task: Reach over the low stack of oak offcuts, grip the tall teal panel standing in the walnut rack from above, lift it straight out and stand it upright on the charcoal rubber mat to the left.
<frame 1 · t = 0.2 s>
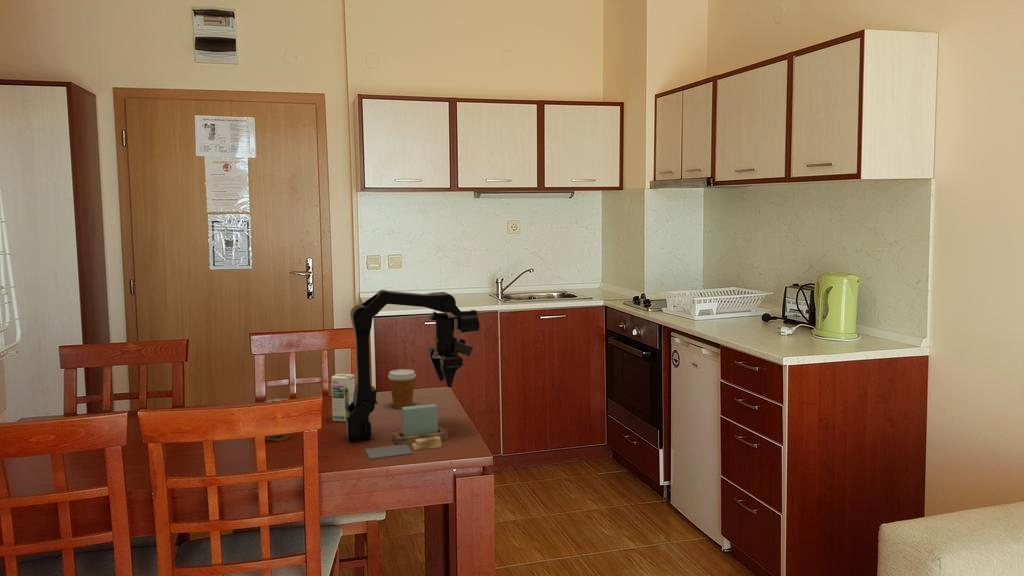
hand: (445, 383, 237), 14 cm above the table, tool pointing down, fingers open, 9 cm apart
canned tomato: (279, 438, 232), on the table
mat: (388, 452, 217), on the table
offcut stack: (426, 447, 221), on the table
rack: (420, 439, 228), on the table
syrup box: (344, 419, 250), on the table
panel: (419, 423, 227), in the rack
disposable coffee cup: (402, 406, 265), on the table
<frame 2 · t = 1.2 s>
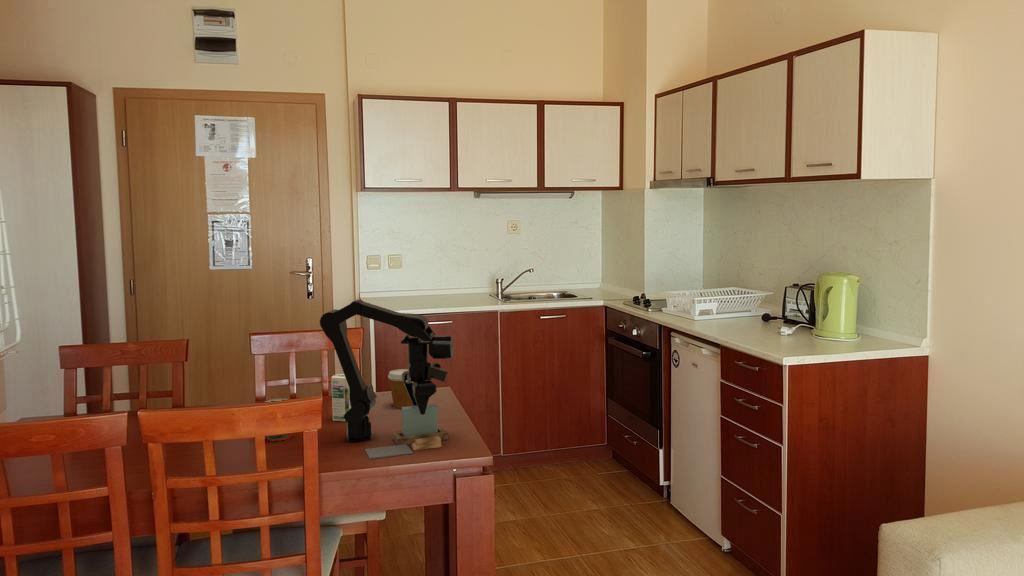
hand: (419, 410, 227), 9 cm above the table, tool pointing down, fingers open, 9 cm apart
nothing on the table moved.
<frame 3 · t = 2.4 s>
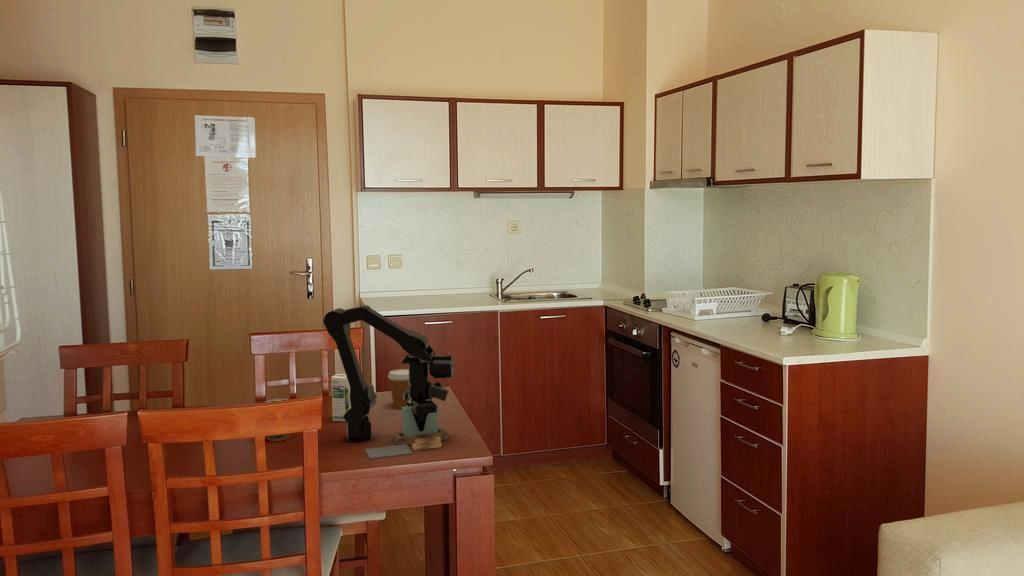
hand: (420, 429, 228), 3 cm above the table, tool pointing down, fingers closed on panel, 3 cm apart
panel: (419, 423, 227), in the rack, touching gripper
everything else where it was.
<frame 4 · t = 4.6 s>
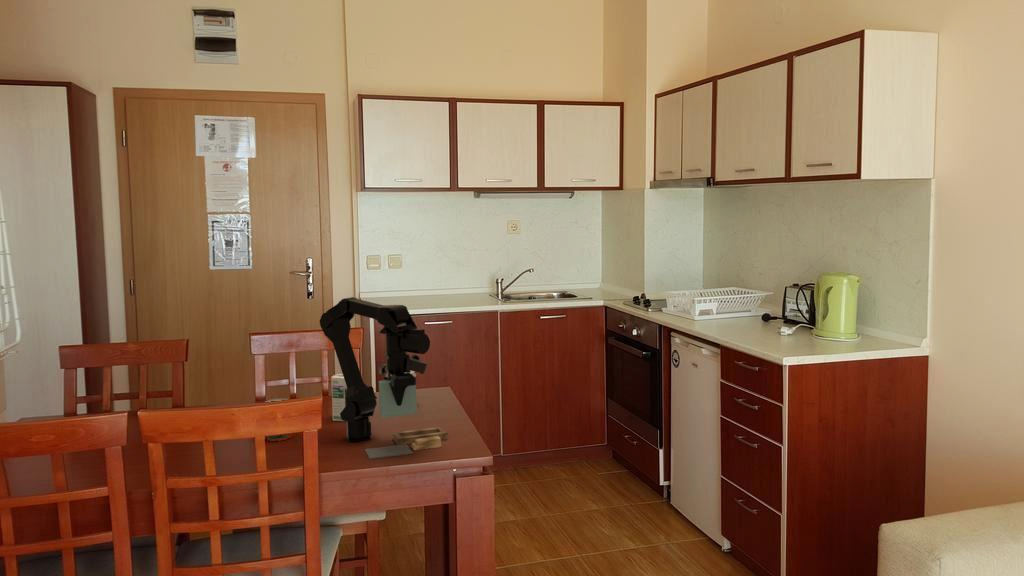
hand: (397, 404, 219), 13 cm above the table, tool pointing down, fingers closed on panel, 3 cm apart
panel: (397, 397, 219), point 15 cm above the table, touching gripper
everything else where it was.
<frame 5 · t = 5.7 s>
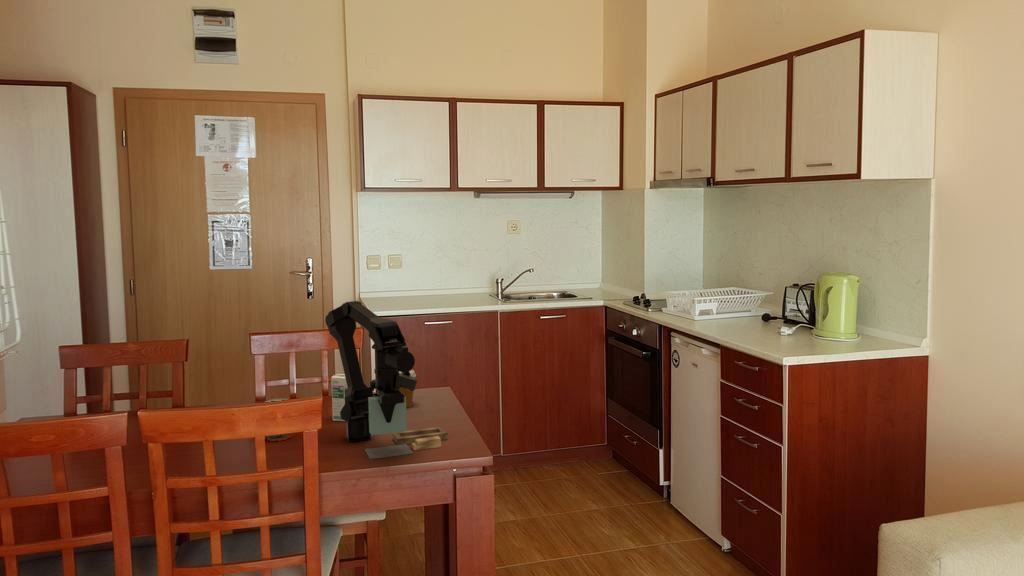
hand: (387, 420, 216), 9 cm above the table, tool pointing down, fingers closed on panel, 3 cm apart
panel: (387, 414, 216), point 11 cm above the table, touching gripper
everything else where it was.
when the fingers open (4 cm above the table, at t = 6.7 s): panel stays where it is, resting on mat.
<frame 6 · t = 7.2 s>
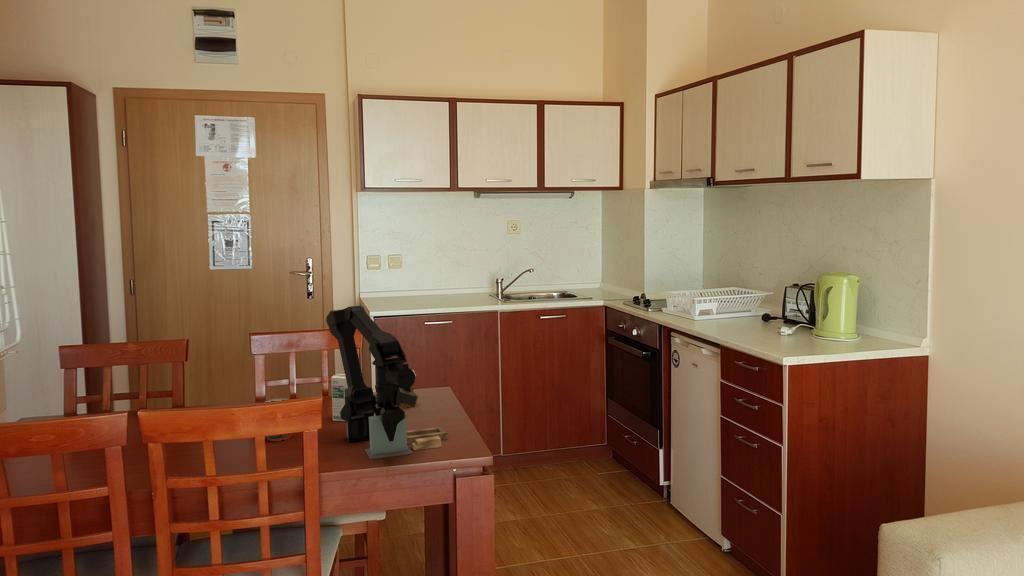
hand: (388, 436, 216), 4 cm above the table, tool pointing down, fingers open, 8 cm apart
panel: (388, 433, 216), on the mat
everything else where it was.
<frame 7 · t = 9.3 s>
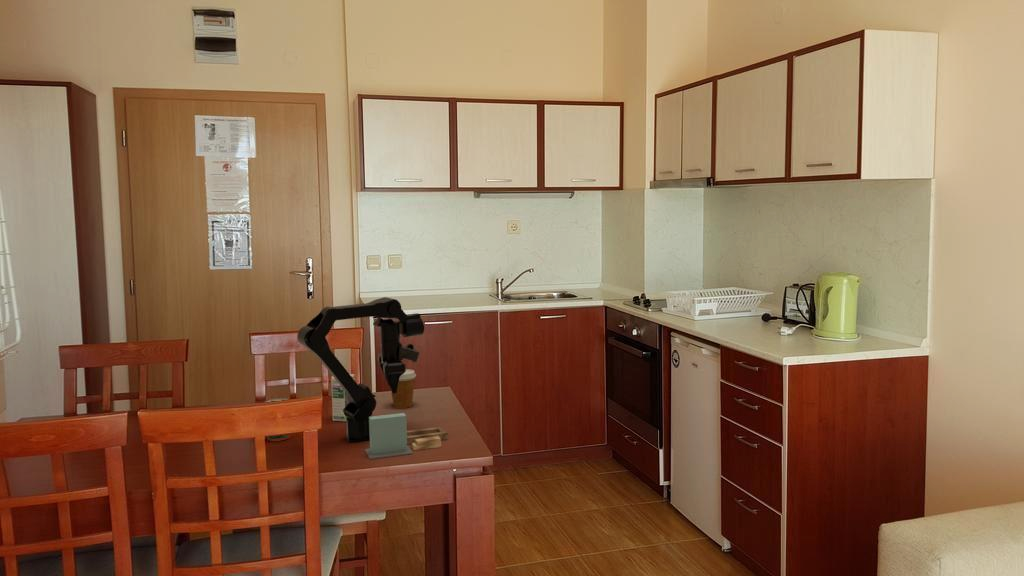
hand: (392, 389, 235), 13 cm above the table, tool pointing down, fingers open, 9 cm apart
nothing on the table moved.
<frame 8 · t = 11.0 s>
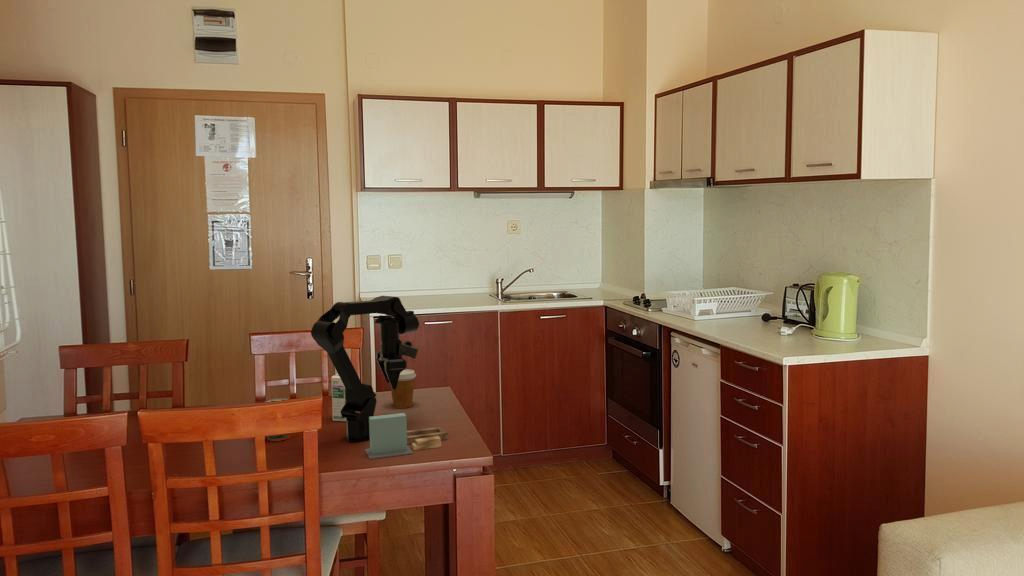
hand: (391, 385, 240), 13 cm above the table, tool pointing down, fingers open, 9 cm apart
nothing on the table moved.
at the end: panel inside the target area on the mat (0.1 cm from its centre), point 5.4 cm above the mat's base; panel tilted 0°; the gripper is holding nothing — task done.
